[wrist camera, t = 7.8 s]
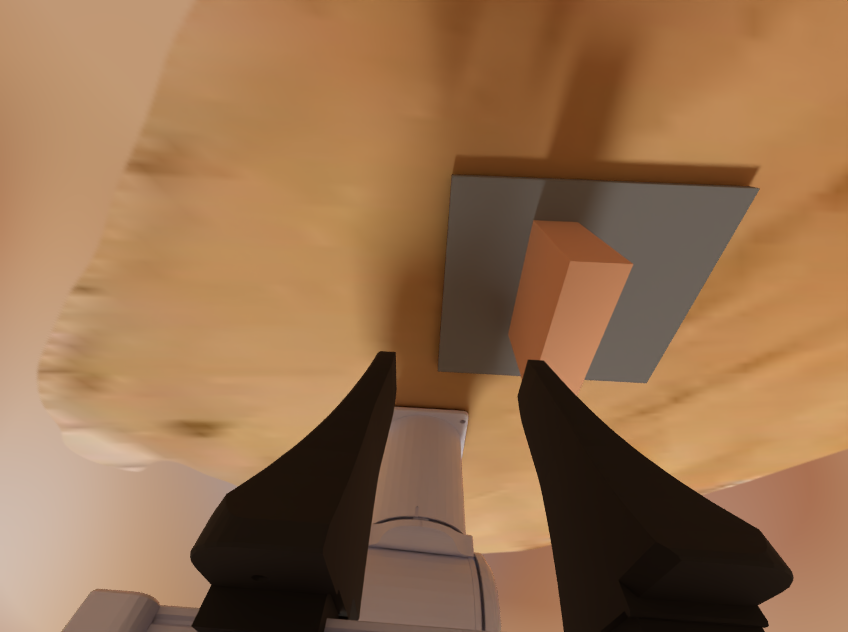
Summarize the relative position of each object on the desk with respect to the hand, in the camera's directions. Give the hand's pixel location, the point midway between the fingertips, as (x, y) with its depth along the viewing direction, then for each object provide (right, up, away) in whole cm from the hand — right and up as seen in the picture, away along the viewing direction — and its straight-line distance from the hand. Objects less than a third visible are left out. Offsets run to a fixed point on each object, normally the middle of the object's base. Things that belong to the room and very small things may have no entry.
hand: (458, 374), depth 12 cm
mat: (+8, +4, +8) cm, 12 cm away
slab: (+6, +4, +7) cm, 10 cm away
